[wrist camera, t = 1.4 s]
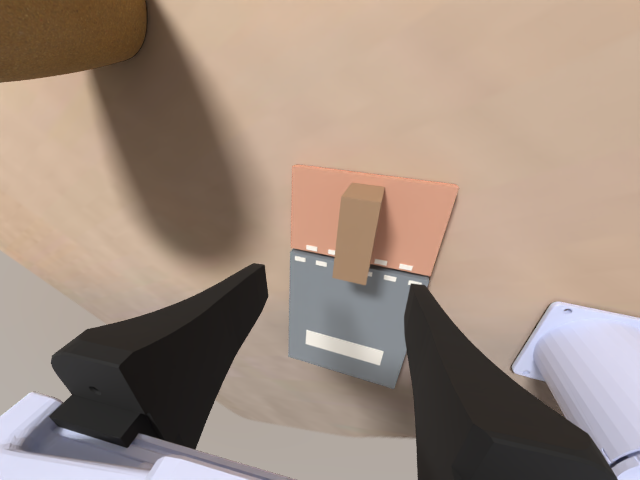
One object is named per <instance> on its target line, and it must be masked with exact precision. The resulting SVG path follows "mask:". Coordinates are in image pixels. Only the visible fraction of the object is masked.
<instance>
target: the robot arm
mask: <svg viewBox="0 0 640 480" xmlns="http://www.w3.org/2000/svg"><path fill="white" fill-rule="evenodd" d="M267 298H268V289H267V281H266V273H265V265H263V264H255V263H253V264H251V265H249V266H248V267H246V268H244V269H242V270H241V271H239V272H237V273H235V274H234V275H232V276H230V277H228V278H227V279H225V280H223V281H222V282H220V283H218V284H216V285H214V286H212V287H210V288H208V289H207V290H205V291H203V292H201V293H199V294H197V295H195V296H192V297H190V298H188V299H186V300H183V301H181V302H179V303H176V304H174V305H171V306H168V307H165V308H163V309H160V310H157V311H154V312H152V313H148V314H145V315H142V316H139V317H135V318H132V319H128V320H125V321H121V322H117V323H113V324H108V325H104V326H100V327H96V328H91V329H87V330H85V331H84V332H83V333H81V334H80V335H79V336H77V337H76V338H75V339H73V340H72V341H71V342H70V343H68V344H67V345H65V346H64V347H63V348H61V349H60V350H59V351H58V352H56V353H55V354H54V355H52V360H51V364H52V367H53V369H54V371H55V372H56V374H57V375H58V377H59V378H60V379H61V381H62V382H63V383H64V385H66V387H67V388H68V390H69V391H70V392H71V394H73V395H71V396H70V397H69V398H68V399H67V400H66V401H65V402H64V403H63V402H62V401H61V400H59V399H57V398H55V397H51V396H48V395H44V394H41V393H37V392H30V393H29V394H28V395H26V396H25V397H24V398H23V399H21V400H20V401H19V402H18V403H16V404H15V405H14V406H13V407H11V408H10V409H9V410H8V411H6V412H5V413H4V414H3V415H1V416H0V480H296V479H293V478H289V477H286V476H283V475H279V474H276V473H273V472H269V471H266V470H262V469H259V468H256V467H252V466H249V465H245V464H242V463H239V462H235V461H231V460H228V459H225V458H222V457H218V456H215V455H211V454H208V453H204V452H201V451H198V450H195V449H196V446H197V444H198V441H199V439H200V436H201V433H202V431H203V428H204V426H205V423H206V420H207V418H208V416H209V413H210V411H211V408H212V406H213V404H214V401H215V399H216V396H217V394H218V392H219V390H220V388H221V385H222V383H223V381H224V379H225V376H226V374H227V372H228V370H229V368H230V366H231V364H232V362H233V360H234V358H235V356H236V354H237V352H238V350H239V349H240V347H241V345H242V344H243V342H244V341H245V339H246V337H247V336H248V334H249V332H250V331H251V329H252V327H253V326H254V324H255V322H256V321H257V319H258V317H259V316H260V314H261V312H262V310H263V308H264V305H265V303H266V301H267ZM565 309H568V310H566V311H564V310H565ZM404 334H405V343H406V349H407V355H408V361H409V368H410V374H411V380H412V386H413V395H414V409H415V426H416V444H417V468H418V480H640V318H637V317H633V316H628V315H623V314H618V313H613V312H608V311H603V310H598V309H593V308H589V307H584V306H579V305H574V304H569V303H564V302H554V303H552V304H551V305H550V306H549V307H548V309H547V311H546V312H545V314H544V315H543V317H542V319H541V320H540V322H539V323H538V325H537V327H536V328H535V330H534V331H533V333H532V335H531V336H530V338H529V339H528V341H527V343H526V344H525V346H524V347H523V349H522V351H521V352H520V354H519V355H518V357H517V359H516V360H515V362H514V363H513V365H512V370H513V372H514V373H516V374H519V375H523V376H526V377H530V378H534V379H538V380H541V381H545V382H546V383H547V385H548V387H549V389H550V391H551V392H552V394H553V396H554V398H555V400H556V401H557V403H558V405H559V407H560V409H561V410H562V412H563V414H564V416H565V418H564V417H563V416H561V415H560V414H558V413H557V412H555V411H554V410H552V409H551V408H550V407H548V406H547V405H545V404H544V403H543V402H541V401H540V400H539V399H537V398H536V397H535V396H533V395H532V394H531V393H529V392H528V391H526V390H525V389H524V388H523V387H521V386H520V385H519V384H518V383H516V382H515V381H514V380H512V379H511V378H510V377H509V376H508V375H506V374H505V373H504V372H503V371H502V370H501V369H499V368H498V367H497V366H496V365H495V364H494V363H492V362H491V361H490V360H489V359H488V358H487V357H486V356H485V355H484V354H483V353H482V352H481V351H480V350H479V349H477V348H476V347H475V346H474V345H473V344H472V343H471V342H470V341H469V340H468V339H467V337H466V336H465V335H464V334H463V333H462V332H461V331H460V330H459V329H458V327H457V326H456V325H455V324H454V323H453V322H452V320H451V319H450V318H449V317H448V315H447V314H446V313H445V312H444V310H443V309H442V308H441V306H440V305H439V304H438V302H437V301H436V300H435V298H434V297H433V295H432V294H431V293H430V291H429V290H428V288H427V287H426V286H425V285H420V284H412V283H411V285H410V290H409V294H408V299H407V304H406V309H405V314H404ZM525 370H527V371H525Z"/></svg>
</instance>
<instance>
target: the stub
mask: <svg viewBox="0 0 640 480" xmlns="http://www.w3.org/2000/svg"><path fill="white" fill-rule="evenodd" d="M458 190H459V187H458V186H457V185H456V184H448V183H440V182H432V181H424V180H416V179H408V178H401V177H393V176H385V175H377V174H369V173H361V172H353V171H345V170H337V169H329V168H321V167H313V166H305V165H294V166H292V208H291V248H295V249H300V250H305V251H310V252H314V253H319V254H324V255H329V256H334V257H335V258H334V267H333V276H332V278H335V279H339V280H344V281H348V282H353V283H357V284H362V285H366V282H367V277H368V272H369V268H370V264H373V265H378V266H383V267H388V268H392V269H397V270H402V271H407V272H412V273H417V274H422V275H427V276H431V273H432V270H433V267H434V264H435V261H436V258H437V254H438V251H439V248H440V245H441V242H442V239H443V236H444V233H445V230H446V227H447V224H448V220H449V217H450V214H451V211H452V208H453V205H454V202H455V199H456V196H457V193H458Z"/></svg>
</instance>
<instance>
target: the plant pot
mask: <svg viewBox="0 0 640 480" xmlns="http://www.w3.org/2000/svg"><path fill="white" fill-rule="evenodd" d="M146 26H147V11H146V3H145V0H0V83H1V82H11V81H21V80H29V79H36V78H44V77H50V76H56V75H63V74H69V73H74V72H79V71H84V70H89V69H94V68H98V67H102V66H106V65H110V64H114V63H117V62H121V61H124V60H127V59H130V58H132V57H133V56H134V55H135V54H136V53H137V52H138V51H139V49H140V48H141V46H142V44H143V41H144V38H145V33H146Z"/></svg>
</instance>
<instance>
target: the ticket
mask: <svg viewBox="0 0 640 480" xmlns="http://www.w3.org/2000/svg"><path fill="white" fill-rule="evenodd" d="M334 258H335V257H334V256H329V255H324V254H319V253H314V252H310V251H305V250H300V249H295V248H293V249H292V251H291V252H290V298H289V355H288V357H291V358H295V359H298V360H301V361H304V362H308V363H311V364H314V365H317V366H320V367H324V368H327V369H330V370H333V371H337V372H340V373H343V374H346V375H350V376H353V377H356V378H359V379H363V380H366V381H369V382H372V383H376V384H379V385H382V386H385V387H389V388H392V389H394V388H395V385H396V382H397V379H398V376H399V373H400V369H401V366H402V363H403V360H404V357H405V354H406V351H407V349H406V343H405V334H404V314H405V309H406V304H407V299H408V294H409V290H410V285H411V283H412V284H420V285H425V286H426V287H427V286H428V283H429V277H428V276H427V275H422V274H417V273H412V272H407V271H402V270H397V269H392V268H388V267H383V266H378V265H373V264H370V268H369V272H368V277H367V282H366V285H362V284H357V283H353V282H348V281H344V280H339V279H335V278H332V276H333V267H334Z"/></svg>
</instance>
